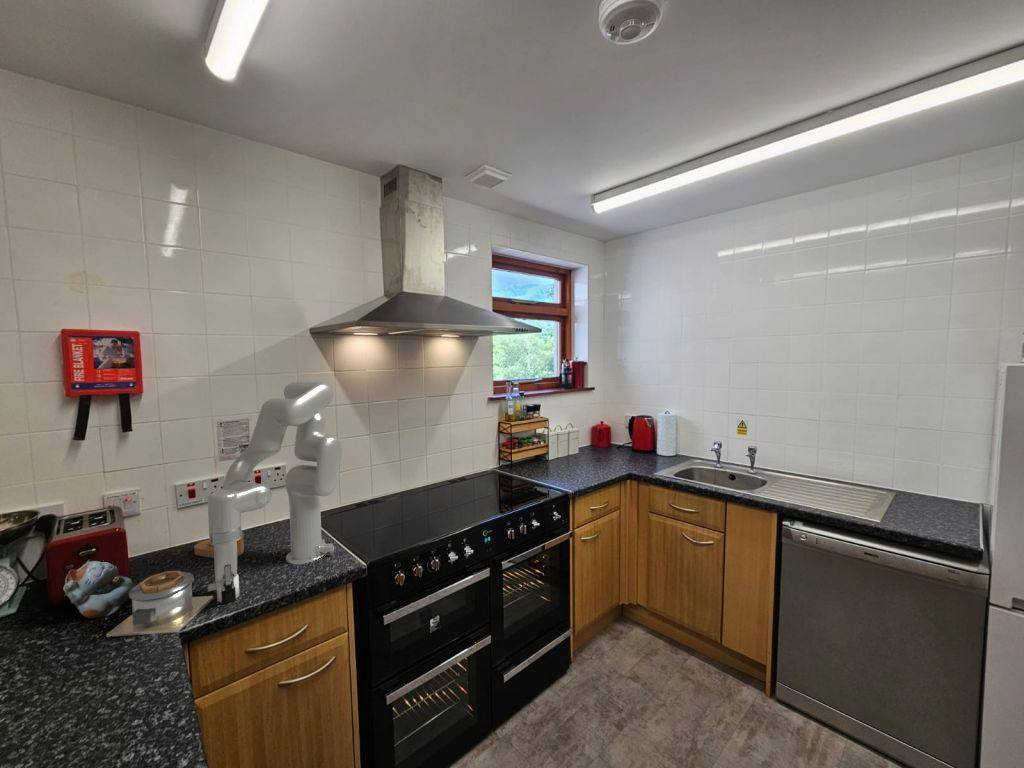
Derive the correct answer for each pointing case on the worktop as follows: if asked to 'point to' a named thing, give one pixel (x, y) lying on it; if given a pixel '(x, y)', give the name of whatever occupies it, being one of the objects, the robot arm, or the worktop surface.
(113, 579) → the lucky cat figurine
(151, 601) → the cylinder on square plate
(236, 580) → the drain pump
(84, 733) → the worktop surface
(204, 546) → the brown rounded piece
